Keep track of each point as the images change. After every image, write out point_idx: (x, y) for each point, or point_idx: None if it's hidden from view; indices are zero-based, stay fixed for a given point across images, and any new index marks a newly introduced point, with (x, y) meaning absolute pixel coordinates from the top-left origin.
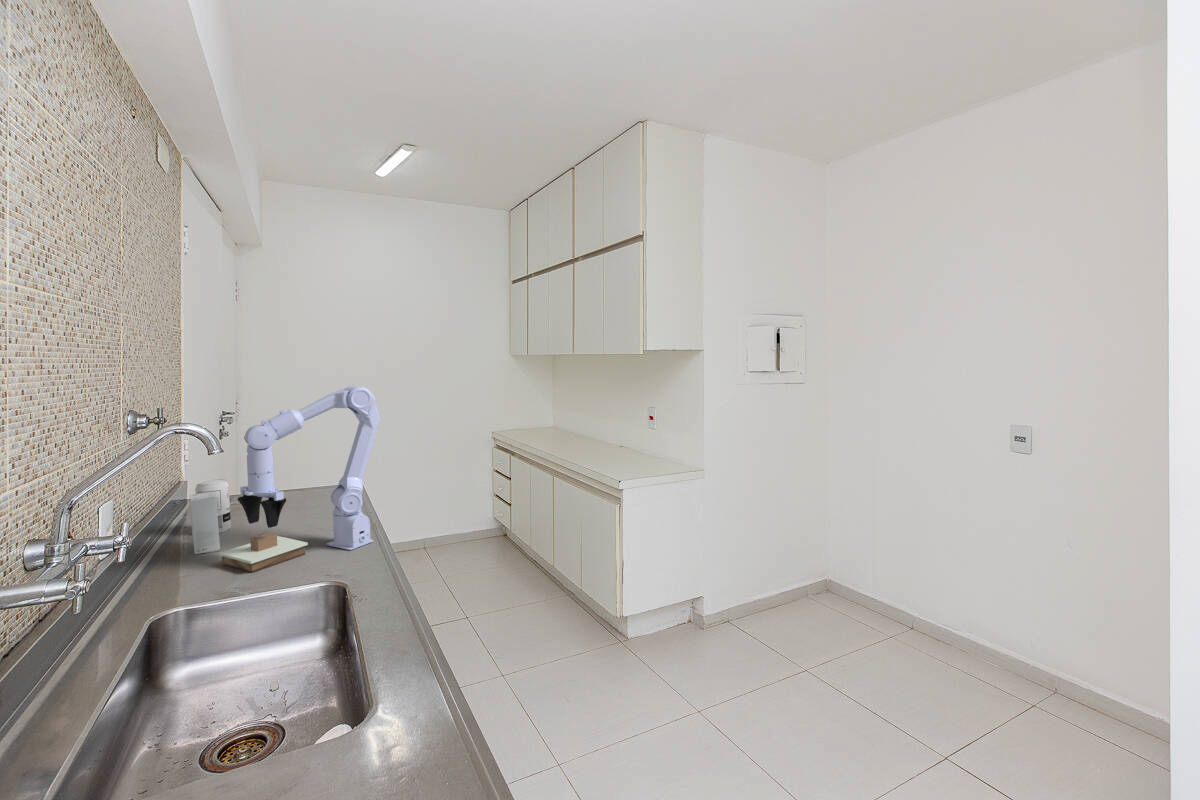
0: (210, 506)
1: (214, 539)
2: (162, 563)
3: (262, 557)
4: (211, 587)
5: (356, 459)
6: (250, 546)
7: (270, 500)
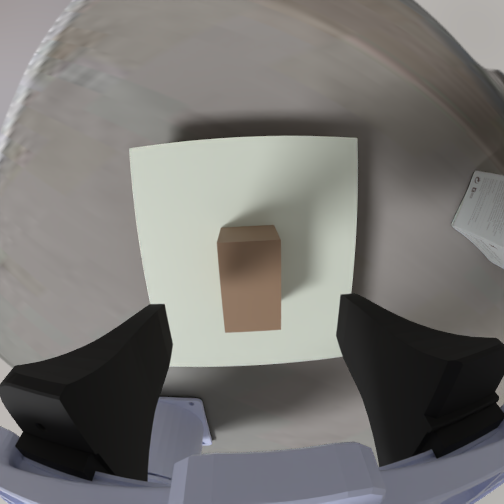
0: None
1: (480, 223)
2: (477, 95)
3: (135, 197)
4: (151, 33)
5: None
6: (316, 246)
7: (53, 440)
